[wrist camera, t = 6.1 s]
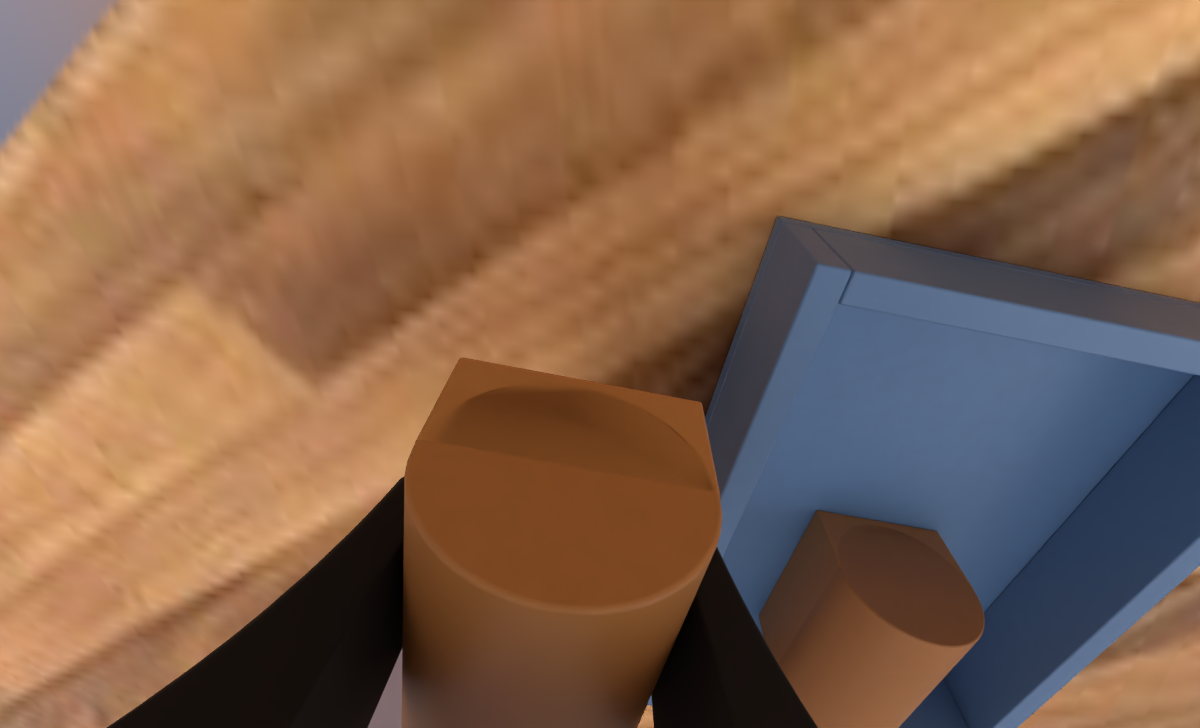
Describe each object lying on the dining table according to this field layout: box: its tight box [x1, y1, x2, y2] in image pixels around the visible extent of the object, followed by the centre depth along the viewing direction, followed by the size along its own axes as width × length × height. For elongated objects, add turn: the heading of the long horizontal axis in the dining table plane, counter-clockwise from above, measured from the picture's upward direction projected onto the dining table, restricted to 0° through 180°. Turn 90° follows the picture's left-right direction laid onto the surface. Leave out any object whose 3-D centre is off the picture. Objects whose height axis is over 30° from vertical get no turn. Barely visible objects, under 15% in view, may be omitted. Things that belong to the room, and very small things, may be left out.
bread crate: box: [647, 216, 1200, 728], centre depth 18 cm, size 14×17×4 cm
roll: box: [759, 510, 985, 728], centre depth 19 cm, size 4×6×5 cm
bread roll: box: [401, 358, 722, 728], centre depth 9 cm, size 4×6×5 cm
